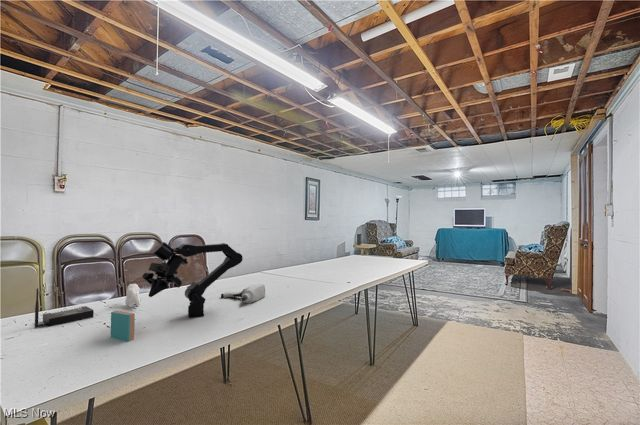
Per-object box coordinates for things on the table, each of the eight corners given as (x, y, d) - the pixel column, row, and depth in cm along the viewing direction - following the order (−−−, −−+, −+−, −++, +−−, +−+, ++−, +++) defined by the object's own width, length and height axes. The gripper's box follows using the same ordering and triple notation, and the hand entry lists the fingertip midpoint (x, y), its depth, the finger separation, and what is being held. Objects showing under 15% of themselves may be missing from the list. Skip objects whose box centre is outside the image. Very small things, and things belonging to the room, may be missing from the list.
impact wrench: (207, 299, 166) (248, 290, 162) (227, 290, 189) (264, 282, 184) (209, 313, 166) (251, 305, 161) (230, 302, 188) (267, 295, 183)
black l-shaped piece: (84, 313, 150) (85, 278, 150) (94, 319, 141) (95, 282, 142) (29, 324, 134) (30, 285, 134) (37, 331, 125) (38, 290, 126)
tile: (116, 335, 120) (117, 310, 121) (134, 339, 117) (134, 313, 117) (110, 337, 118) (111, 312, 118) (128, 341, 114) (128, 315, 115)
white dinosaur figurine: (135, 299, 172) (136, 279, 171) (147, 312, 155) (148, 291, 154) (121, 301, 167) (122, 281, 167) (132, 315, 150) (133, 293, 149)
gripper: (146, 254, 137) (121, 283, 127) (177, 256, 130) (153, 287, 120) (160, 269, 144) (138, 298, 134) (190, 272, 137) (170, 302, 127)
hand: (149, 296), depth 128 cm, fingers closed
